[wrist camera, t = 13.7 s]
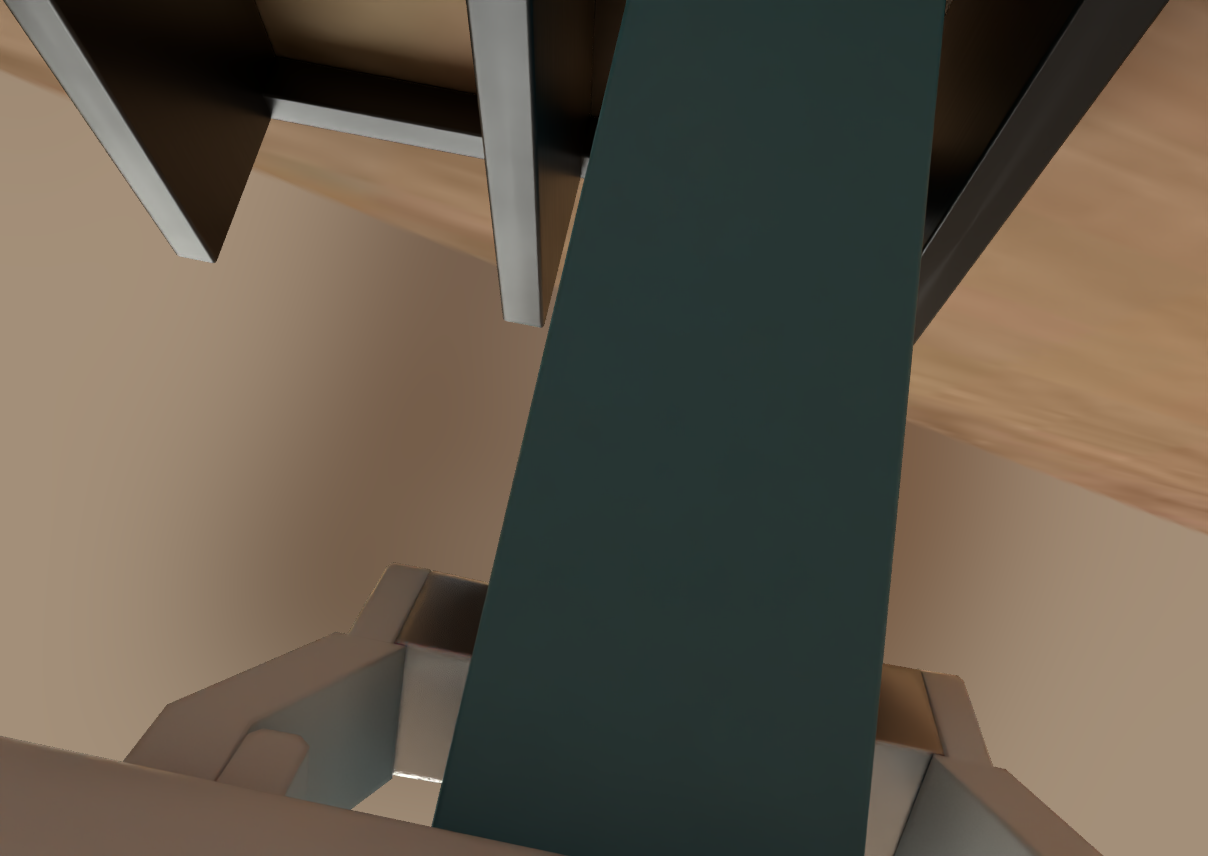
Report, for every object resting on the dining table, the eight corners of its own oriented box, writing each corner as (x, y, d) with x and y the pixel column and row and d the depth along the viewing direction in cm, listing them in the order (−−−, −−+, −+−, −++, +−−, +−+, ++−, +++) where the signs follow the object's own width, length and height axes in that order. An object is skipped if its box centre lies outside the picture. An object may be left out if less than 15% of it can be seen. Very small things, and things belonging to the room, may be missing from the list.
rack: (1228, -404, 13) (1237, -86, 11) (899, 199, 26) (877, 395, 24) (-43, -617, 14) (-241, -352, 12) (248, 75, 27) (176, 257, 25)
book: (969, -237, 15) (850, 1023, 9) (810, 177, 24) (703, 918, 19) (693, -283, 15) (406, 928, 9) (642, 146, 24) (485, 872, 19)
